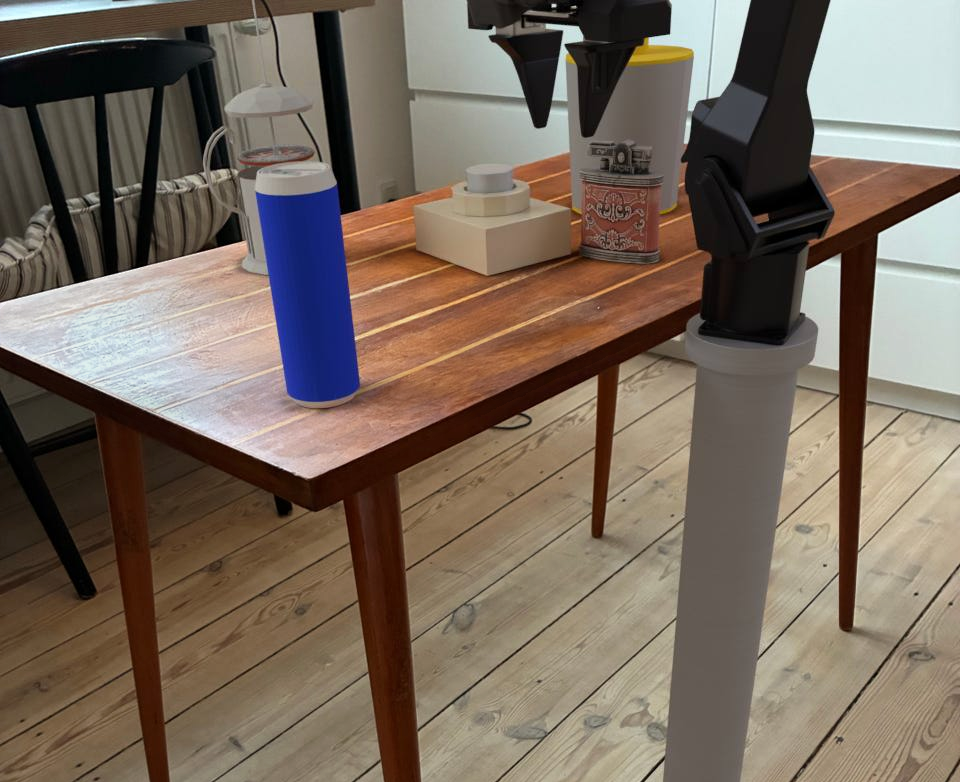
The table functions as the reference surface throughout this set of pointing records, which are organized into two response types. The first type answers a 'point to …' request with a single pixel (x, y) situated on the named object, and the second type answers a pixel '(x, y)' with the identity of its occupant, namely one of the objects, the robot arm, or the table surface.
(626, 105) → the white tapered piece
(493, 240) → the push button base
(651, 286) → the table surface
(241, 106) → the french press
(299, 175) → the beverage can
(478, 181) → the grey push button
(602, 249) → the lighter
